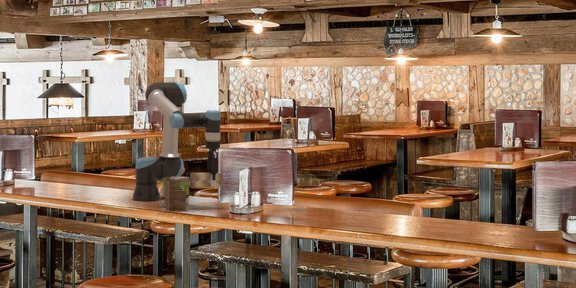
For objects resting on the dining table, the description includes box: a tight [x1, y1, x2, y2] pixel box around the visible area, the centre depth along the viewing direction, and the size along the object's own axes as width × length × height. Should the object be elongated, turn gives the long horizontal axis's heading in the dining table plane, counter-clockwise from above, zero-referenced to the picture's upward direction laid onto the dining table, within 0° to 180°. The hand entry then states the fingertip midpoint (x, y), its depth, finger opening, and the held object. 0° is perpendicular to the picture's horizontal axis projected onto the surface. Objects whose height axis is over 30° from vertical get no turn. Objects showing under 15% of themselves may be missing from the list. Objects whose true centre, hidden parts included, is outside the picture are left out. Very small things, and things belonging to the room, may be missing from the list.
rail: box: [189, 171, 224, 189], centre depth 455 cm, size 16×5×7 cm, turn 108°
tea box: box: [161, 176, 190, 207], centre depth 466 cm, size 15×10×15 cm
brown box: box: [164, 177, 187, 212], centre depth 450 cm, size 14×8×16 cm, turn 18°
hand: (212, 185), depth 456 cm, fingers closed on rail, 5 cm apart
